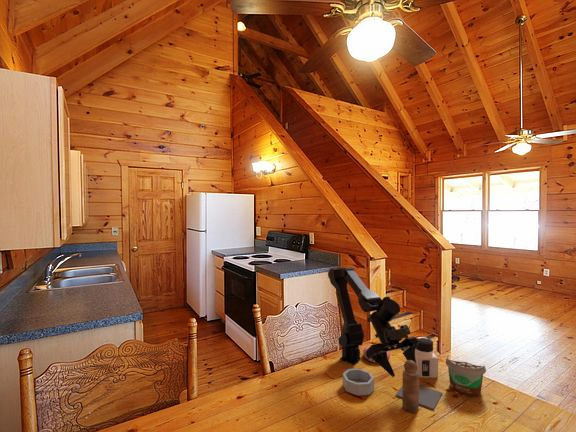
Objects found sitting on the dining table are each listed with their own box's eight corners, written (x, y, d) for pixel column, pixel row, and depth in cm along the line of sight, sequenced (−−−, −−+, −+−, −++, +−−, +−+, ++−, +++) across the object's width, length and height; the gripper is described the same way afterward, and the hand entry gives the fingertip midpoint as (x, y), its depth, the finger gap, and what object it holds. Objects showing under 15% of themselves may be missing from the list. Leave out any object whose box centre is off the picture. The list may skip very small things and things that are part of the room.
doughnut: (376, 367, 124) (376, 357, 124) (357, 356, 134) (357, 346, 134) (395, 360, 130) (395, 350, 130) (376, 350, 139) (376, 341, 139)
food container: (445, 393, 107) (445, 364, 106) (445, 384, 112) (445, 356, 112) (487, 403, 101) (487, 372, 101) (485, 393, 106) (486, 364, 106)
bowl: (338, 389, 109) (338, 377, 109) (352, 376, 117) (352, 365, 117) (365, 400, 103) (365, 387, 103) (377, 386, 111) (377, 374, 111)
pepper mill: (400, 408, 98) (400, 361, 98) (405, 401, 102) (405, 355, 102) (415, 415, 95) (416, 366, 95) (420, 407, 99) (421, 360, 99)
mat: (395, 395, 105) (395, 394, 105) (406, 381, 114) (406, 380, 114) (433, 410, 98) (433, 408, 98) (442, 394, 106) (442, 392, 106)
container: (438, 378, 116) (438, 343, 116) (417, 378, 116) (417, 343, 116) (429, 367, 124) (429, 335, 123) (409, 367, 124) (409, 335, 124)
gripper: (370, 320, 102) (394, 370, 92) (415, 313, 109) (441, 358, 99) (357, 335, 109) (377, 383, 99) (399, 328, 116) (422, 371, 106)
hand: (405, 373), depth 101 cm, fingers open, 9 cm apart
